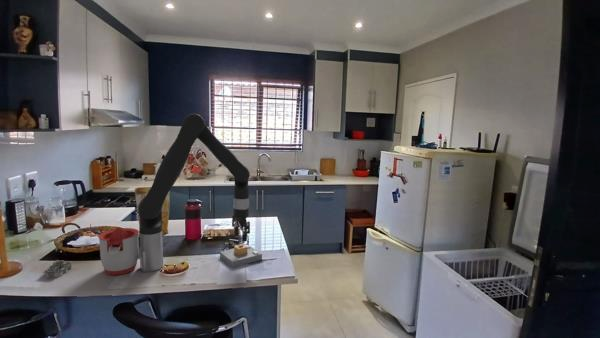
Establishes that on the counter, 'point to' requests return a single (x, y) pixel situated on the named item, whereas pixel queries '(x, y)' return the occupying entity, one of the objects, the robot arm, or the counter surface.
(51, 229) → the counter surface
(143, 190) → the pancake mix bag
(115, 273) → the citrus juicer
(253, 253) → the socket plate
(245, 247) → the plug
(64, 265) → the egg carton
